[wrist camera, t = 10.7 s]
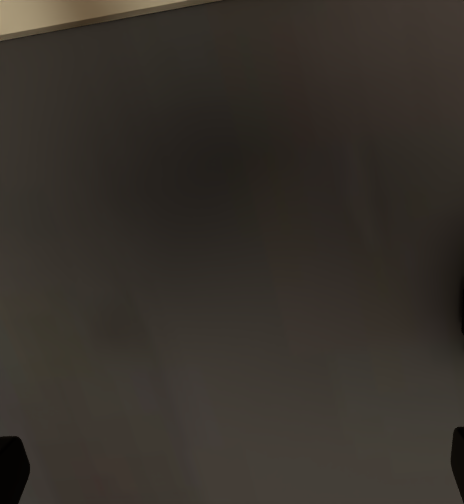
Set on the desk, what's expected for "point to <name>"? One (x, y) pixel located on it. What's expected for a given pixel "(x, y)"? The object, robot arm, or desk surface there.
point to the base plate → (74, 13)
